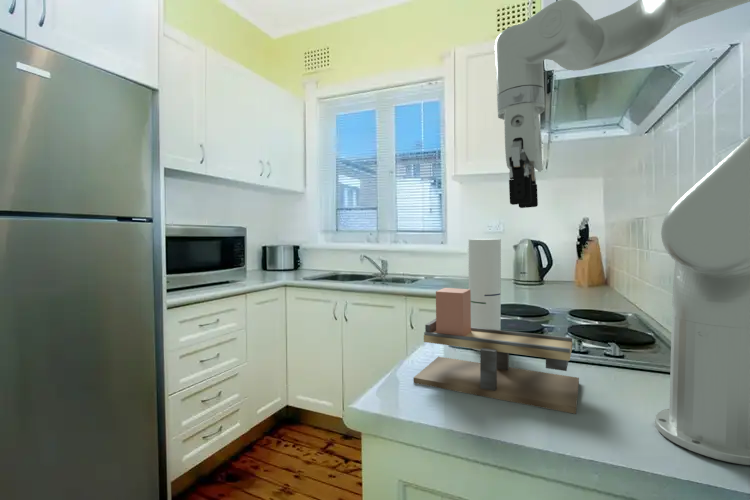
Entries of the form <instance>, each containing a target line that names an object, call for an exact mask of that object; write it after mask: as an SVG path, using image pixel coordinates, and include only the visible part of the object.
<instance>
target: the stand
mask: <svg viewBox="0 0 750 500" xmlns="http://www.w3.org/2000/svg"><path fill="white" fill-rule="evenodd" d="M479 352H480V353H479V354H480V356H479V357H480V361H479V362H477V361H471V360H463V359H459V358H458V359H456V358H451V357H450V358H449V357H443V356H437V357H436V358H434V360H433V361H431V362H430V363H429V364H428V365H426V367H424V368H423V369H422V370H421V371H419V372H418V373H417V374H416V375H415V376H413V384H417V385H423V386H427V387H433V388H437V389H444V390H449V391H454V392H458V393H465V394H470V395H474V396H479V397H480V396H481V397H484V398H485V397H486V398H491V399H496V400H501V401H506V402H511V403H515V404H516V403H517V404H522V405H527V406H533V407H538V408H542V409H547V410H554V411H559V412H563V413H568V414H573V415H576V414H577V407H578V406H577V405H578V397H579V396H578V395H579V386H580V378H579V377H576V376H569V375H563V374H558V373H557V374H556V373H549V372H542V371H538V370H537V371H536V370H528V369H524V368H517V367H510V357H509V356H510V353H505V352H497V350H495V349H487V348H482V349H481V350H480V351H479Z"/></svg>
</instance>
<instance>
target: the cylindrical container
mask: <svg viewBox="0 0 750 500" xmlns="http://www.w3.org/2000/svg"><path fill="white" fill-rule="evenodd" d="M501 243H502V239H501V238H469V239H468V289H471V327H475V328H485V329H494V330H502V329H501V322H502V321H501V318H502V317H501V316H502V314H501V310H502V309H501V307H502V306H501V305H502V304H501V303H502V302H501V297H502V296H501V295H502V294H501V293H502V290H501V288H502V287H501V285H502V281H501V279H502V275H501V272H502V271H501V269H502V267H501V265H502V257H501V255H502V253H501V252H502V247H501V246H502V244H501ZM471 349H472V350H475V351H479V352H480V350H481V349H474V348H471Z"/></svg>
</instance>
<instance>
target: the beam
mask: <svg viewBox="0 0 750 500" xmlns="http://www.w3.org/2000/svg"><path fill="white" fill-rule="evenodd" d="M424 326H425V327H424V329H425V331H424V332H423V342H424V343H429V344H435V345H436V344H437V345H444V346H453V347H461V348H466V349H467V348H468V349H472V348H474V349H482V348H487V349H495V350H497V352H505V353H509V354H514V355H522V356H530V357H536V358H537V357H538V358H545V369H548V370H549V369H550V370H556V371H561V372H563V371H565V372H567V371H568V366H569V361H570V360H571V356H572V351H573V337H572V336H571V337H570V336H560V335H559V336H558V335H550V334H541V333H540V334H539V333H533V332H521V331H511V330H502V329H501V330H494V329H485V328H475V327H471V332H470V333H468V334H467V335H466V336H459V335H450V334H441V333H436V318H435V319H433V320H431V321H430V322H428V323H426V324H425V325H424ZM474 349H473V350H474Z"/></svg>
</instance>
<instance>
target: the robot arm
mask: <svg viewBox="0 0 750 500" xmlns="http://www.w3.org/2000/svg"><path fill="white" fill-rule="evenodd" d="M747 3H750V0H636V1H635V2H634V3H631V4H630V5H629V6H627V7H625V8H623V9H620V10H619V11H616V12H614V13H611V14H608V15H606V16H603V17H601V18H598V19H594V18H593V17H592V15H590V13H589V12H587V11H586V10H585V9H584V7H582V5H581V4H580V3H578V2H577V1H576V0H556V1H554V2H552V3H550V4H549V5H547V6H545V7H544V8H543V9H541V10H539V11H538V12H537V13H535V14H534V15H533V16H531V17H530V18H528V19H527V20H525V21H524V22H522V23H519V24H515V25H512V26H509V27H507V28H506V29H504V30H503V31H501V32H500V33H499V34H498V36H497V37H496V39H495V43H494V44H495V45H494V51H495V52H494V54H495V75H496V76H495V78H496V79H495V80H496V81H495V82H496V99H497V100H496V101H497V103H496V105H497V118H498V119H500V120H503V121H504V123H503V124H504V149H505V150H504V151H505V161H506V166H507V168H508V169H509V173H508V175H509V179H508V186H509V187H508V189H509V190H508V191H509V204H510V205H511V206H512V205H514V206H515V205H518V207H519V208H520V209H524V208H528V209H529V208H536V207H538V205H539V204H538V203H539V202H538V201H539V200H538V197H539V196H538V184H537V179H536V177H537V176H536V170H537V171H538V173H541V172H542V171H543V169H544V168H543V167H544V165H543V153H542V136H541V123H540V117H539V115H540V114H543V113H544V112H545V111H546V103H545V101H546V99H545V79H544V78H545V76H544V75H545V74H544V61H545V60H550V61H553V62H554V63H555V64H557V65H558V66H560V67H561V68H563V69H564V70H567V71H568V70H569V71H574V72H575V71H583V70H588V69H592V68H595V67H599V66H602V65H606V64H608V63H611V62H615V61H618V60H622V59H624V58H626V57H628V56H632V55H634V54H636V53H637V52H640V51H642V50H644V49H645V48H647V47H649V46H650V45H652V44H654V43H656V42H657V41H659V40H661V39H662V38H664V37H666V36H667V35H669V34H670V33H671V32H673V31H675V30H677V28H680V27H681V26H684V25H686V24H689V23H691V22H694V21H695V22H696V21H697V20H700V19H704V18H706V17H709V16H712V15H715V14H717V13H721V12H723V11H726V10H729V9H731V8H732V9H733V8H735V7H738V6H741V5H744V4H747ZM660 232H661V233H660V235H661V241H662V245H663V247H664V249H665V251H666V252H667V254H668V255H669V257H670V258H671V259H672V260H674V271H673V272H674V273H673V284H672V285H673V286H672V303H671V305H672V307H671V308H672V309H671V330H670V331H671V336H670V337H671V341H670V374H669V375H670V376H669V377H670V378H669V407H668V408H667V409H663V410H660V411H658V412H657V413H656V414H655V416H654V417H655V419H654V425H655V428H656V429H657V430H658V432H659V433H660V434H661V435H662V436H663V437H665V438H666V439H668V440H669V441H671V442H672V443H674V444H676V445H678V446H680V447H681V448H684V449H686V450H688V451H691V452H694V453H696V454H699V455H701V456H703V457H704V456H705V457H707V458H710V459H711V458H712V459H714V460H718V461H722V462H727V463H732V464H737V465H742V466H743V465H744V466H750V135H749V136H747V137H746V138H745V139H744V140H743V141H742V142H741V143H740V144H739V145H738V146H736V148H734V149H733V150H732V151H731V152H729V154H727V156H726V157H724V158H723V159H722V160H721V161H720V162H719V163H718V164H716V165H715V166H714V167H713V168H712V169H710V171H709V172H708V173H706V175H704V176H703V177H702V178H701V179H699V180H698V182H697V183H695V184H694V185H693V186H692V187H691V188H690V189H689V190H688V191H687V192H685V193H684V194H683V195H682V196H681V197H680V198H679V199H678V200H677V201H676V202H675V203H674V204H673V205H672V206H671V207H670V209H669V210H668V211H667V213H666V215H665V216H664V218H663V222H662V225H661V231H660Z"/></svg>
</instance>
